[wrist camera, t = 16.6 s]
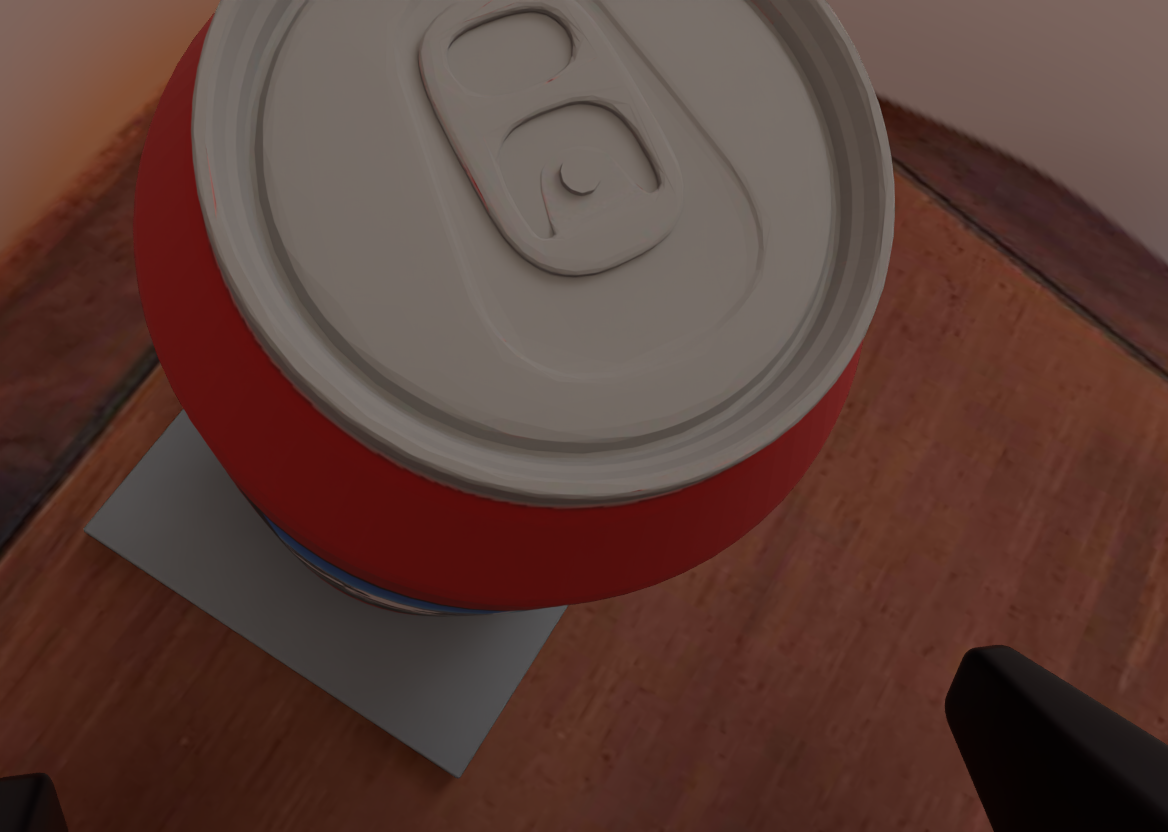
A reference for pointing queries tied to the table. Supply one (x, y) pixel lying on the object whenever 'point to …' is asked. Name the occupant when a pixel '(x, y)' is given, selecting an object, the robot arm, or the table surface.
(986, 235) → the table surface
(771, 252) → the beverage can
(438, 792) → the table surface
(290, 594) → the grey mat
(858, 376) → the table surface
